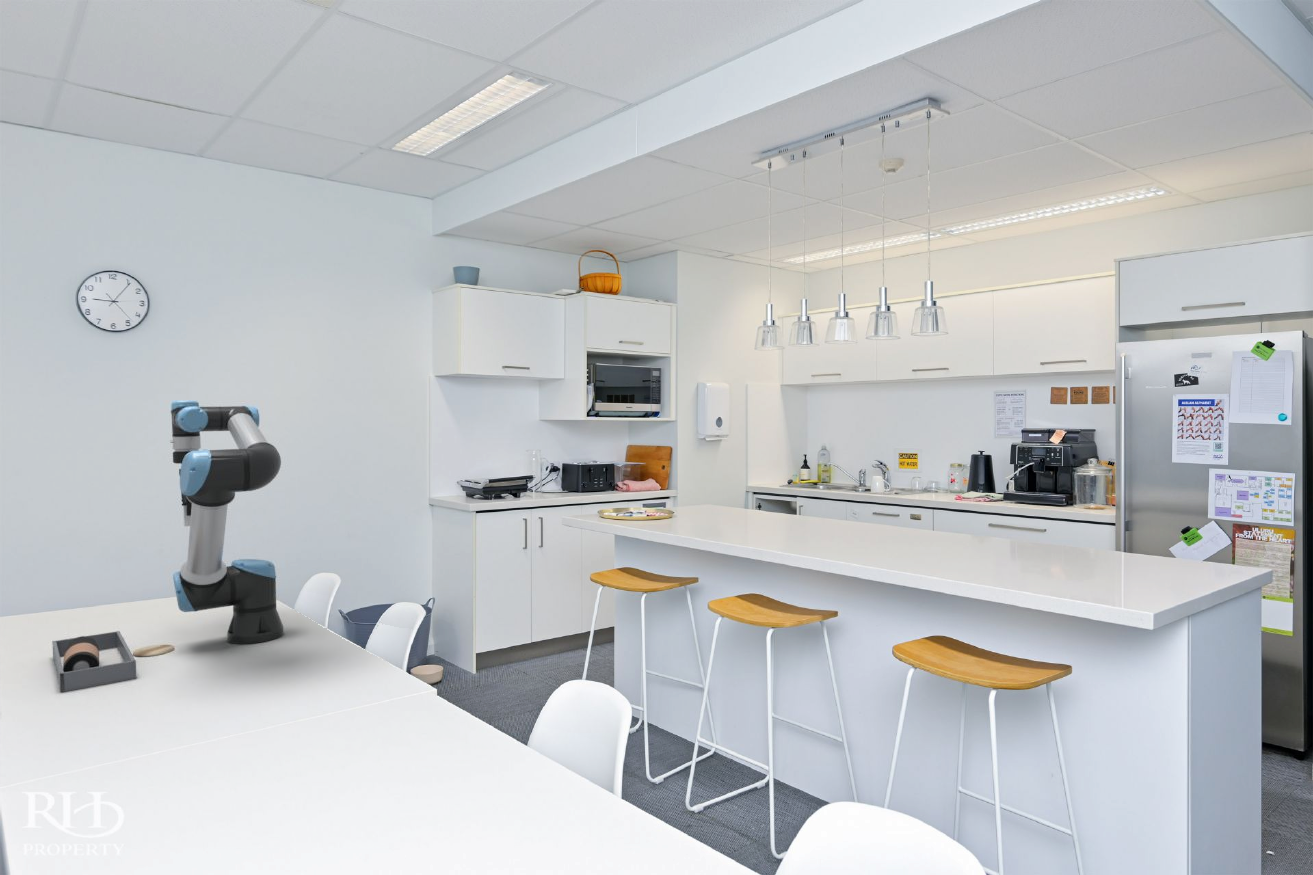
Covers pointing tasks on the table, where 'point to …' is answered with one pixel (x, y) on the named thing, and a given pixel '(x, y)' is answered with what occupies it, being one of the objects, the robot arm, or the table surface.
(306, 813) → the table surface
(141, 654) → the cork coaster
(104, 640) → the tray
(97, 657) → the travel mug
